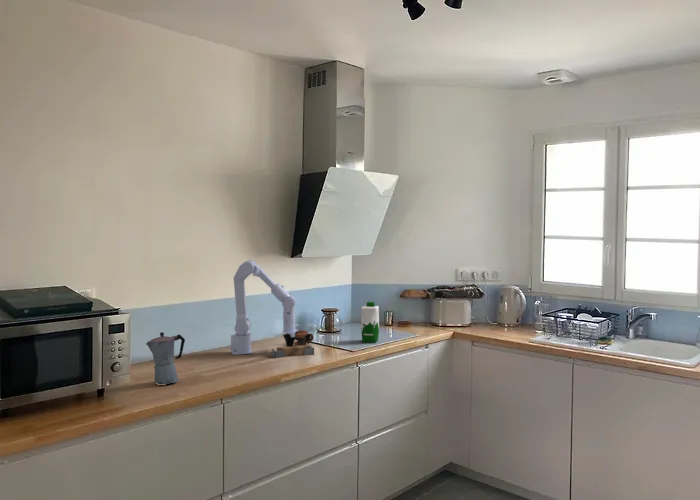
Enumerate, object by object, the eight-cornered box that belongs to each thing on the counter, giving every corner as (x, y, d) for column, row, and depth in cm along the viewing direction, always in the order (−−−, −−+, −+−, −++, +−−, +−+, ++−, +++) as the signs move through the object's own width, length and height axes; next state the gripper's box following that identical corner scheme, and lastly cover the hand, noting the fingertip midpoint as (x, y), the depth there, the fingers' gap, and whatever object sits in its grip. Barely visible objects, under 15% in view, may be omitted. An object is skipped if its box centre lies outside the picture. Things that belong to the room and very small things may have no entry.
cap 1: (274, 358, 261) (274, 351, 261) (271, 354, 268) (271, 348, 268) (284, 357, 263) (284, 350, 263) (281, 354, 269) (281, 347, 269)
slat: (278, 358, 263) (278, 349, 262) (276, 356, 266) (276, 347, 266) (310, 355, 268) (310, 346, 267) (307, 353, 271) (307, 344, 271)
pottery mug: (288, 347, 285) (288, 331, 289) (298, 352, 293) (297, 336, 297) (310, 342, 281) (309, 327, 285) (319, 347, 289) (318, 332, 293)
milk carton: (380, 340, 298) (379, 301, 297) (376, 343, 289) (376, 304, 288) (363, 339, 300) (363, 301, 299) (360, 342, 291) (359, 303, 290)
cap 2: (304, 355, 266) (304, 348, 266) (301, 352, 272) (300, 346, 272) (314, 354, 268) (313, 348, 267) (310, 351, 274) (310, 345, 274)
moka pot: (142, 384, 222) (140, 333, 221) (179, 376, 232) (177, 327, 231) (153, 389, 215) (152, 336, 214) (190, 380, 226) (189, 330, 225)
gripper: (301, 323, 267) (301, 351, 268) (293, 318, 281) (294, 345, 282) (286, 324, 265) (286, 353, 266) (279, 319, 279) (280, 346, 279)
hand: (289, 349), depth 273 cm, fingers closed
